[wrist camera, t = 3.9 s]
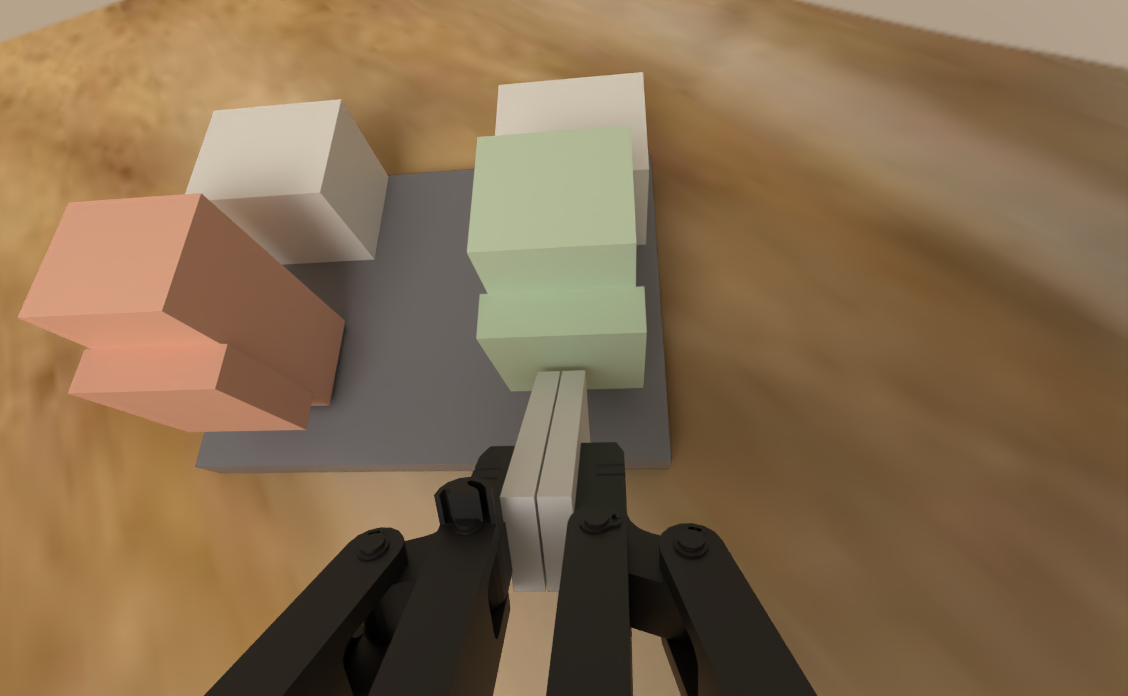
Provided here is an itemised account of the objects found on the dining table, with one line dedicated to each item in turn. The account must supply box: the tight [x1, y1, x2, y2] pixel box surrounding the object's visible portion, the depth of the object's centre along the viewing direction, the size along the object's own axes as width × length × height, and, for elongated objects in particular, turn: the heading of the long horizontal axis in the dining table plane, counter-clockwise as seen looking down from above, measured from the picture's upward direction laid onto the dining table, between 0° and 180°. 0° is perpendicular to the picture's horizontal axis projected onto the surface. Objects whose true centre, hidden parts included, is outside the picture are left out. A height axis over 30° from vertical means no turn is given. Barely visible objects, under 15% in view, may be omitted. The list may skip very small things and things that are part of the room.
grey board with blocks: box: [185, 72, 671, 473], centre depth 23 cm, size 20×15×6 cm
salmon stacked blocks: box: [18, 193, 345, 432], centre depth 20 cm, size 5×6×9 cm
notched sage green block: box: [467, 125, 647, 391], centre depth 19 cm, size 5×6×9 cm
